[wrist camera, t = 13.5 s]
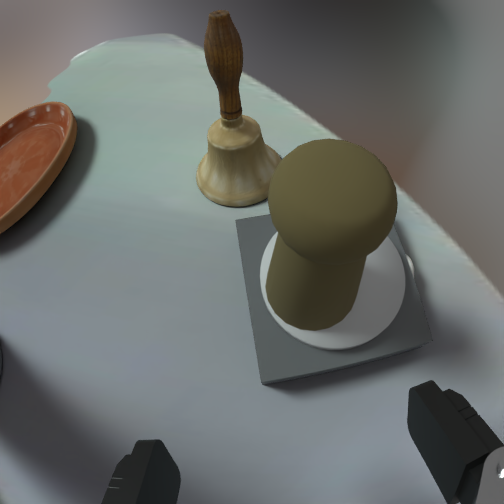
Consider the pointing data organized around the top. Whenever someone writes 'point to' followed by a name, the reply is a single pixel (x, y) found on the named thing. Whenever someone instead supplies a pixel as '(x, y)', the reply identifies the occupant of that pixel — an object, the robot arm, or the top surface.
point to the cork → (325, 229)
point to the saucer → (32, 156)
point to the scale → (345, 332)
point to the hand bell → (232, 127)
